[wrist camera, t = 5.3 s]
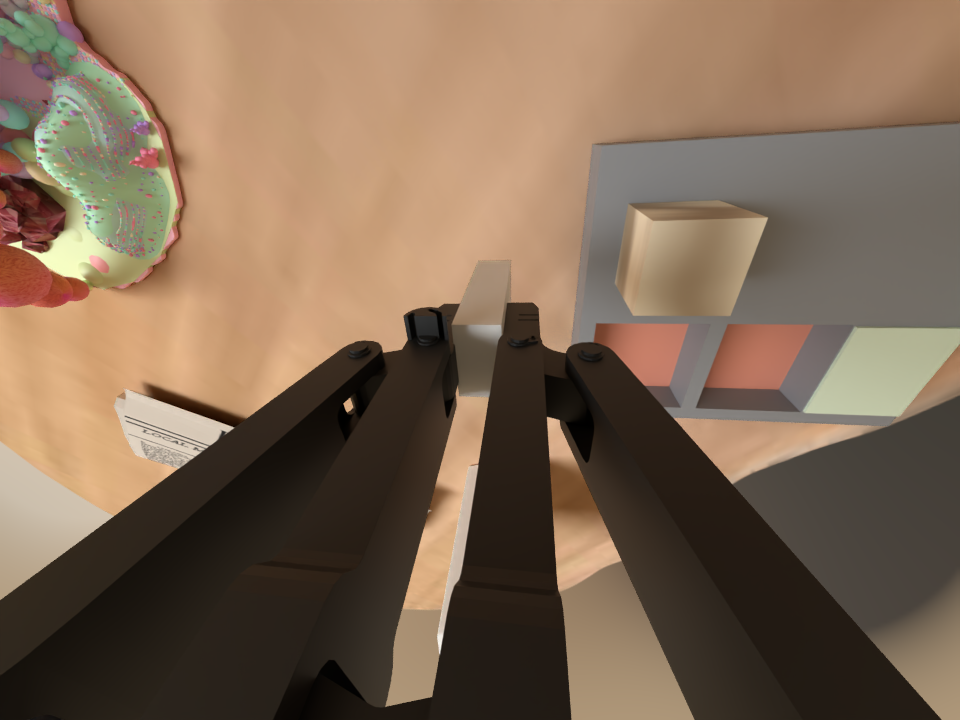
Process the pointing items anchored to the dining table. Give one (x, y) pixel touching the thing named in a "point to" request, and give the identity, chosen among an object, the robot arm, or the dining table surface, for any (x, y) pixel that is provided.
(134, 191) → the pastel sphere sculpture
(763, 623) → the robot arm
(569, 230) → the dining table surface
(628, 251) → the block
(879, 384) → the grey compartment tray
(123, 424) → the newspaper
